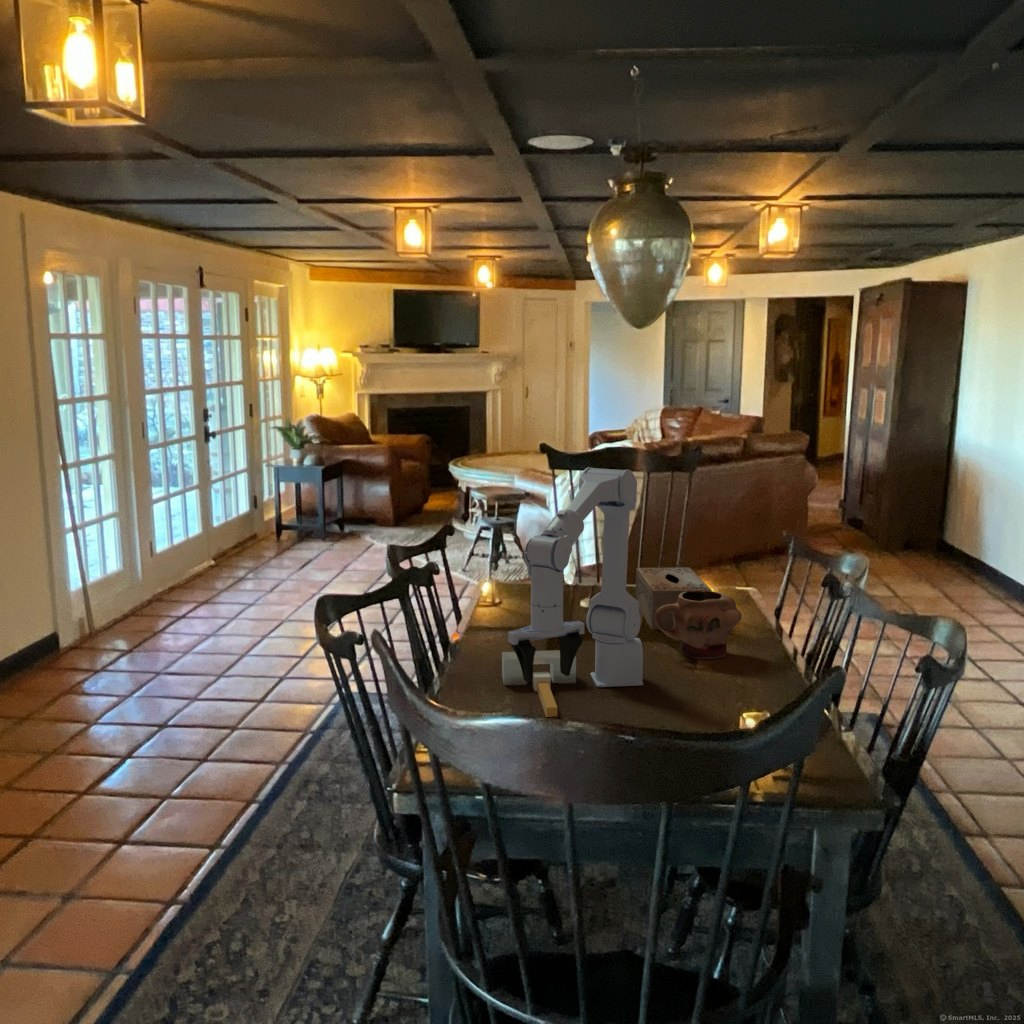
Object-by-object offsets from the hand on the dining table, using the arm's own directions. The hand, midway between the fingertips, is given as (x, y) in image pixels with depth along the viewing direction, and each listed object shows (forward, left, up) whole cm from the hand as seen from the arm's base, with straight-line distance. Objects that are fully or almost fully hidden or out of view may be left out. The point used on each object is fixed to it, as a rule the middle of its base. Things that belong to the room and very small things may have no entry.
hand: (546, 677), depth 165 cm
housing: (-1, -23, -9) cm, 25 cm away
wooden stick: (-1, -11, -9) cm, 14 cm away
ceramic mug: (-38, -36, -9) cm, 54 cm away
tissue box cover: (-41, -69, -9) cm, 81 cm away
